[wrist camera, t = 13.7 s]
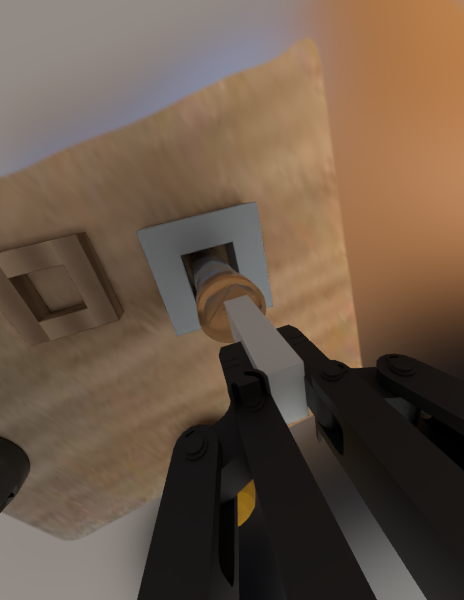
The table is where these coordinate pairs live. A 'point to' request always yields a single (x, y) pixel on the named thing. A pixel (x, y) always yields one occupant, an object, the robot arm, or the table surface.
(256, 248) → the socket
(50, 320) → the mount
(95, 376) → the table surface
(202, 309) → the pin
